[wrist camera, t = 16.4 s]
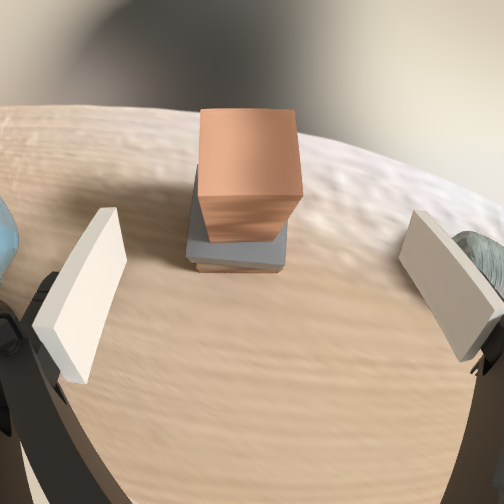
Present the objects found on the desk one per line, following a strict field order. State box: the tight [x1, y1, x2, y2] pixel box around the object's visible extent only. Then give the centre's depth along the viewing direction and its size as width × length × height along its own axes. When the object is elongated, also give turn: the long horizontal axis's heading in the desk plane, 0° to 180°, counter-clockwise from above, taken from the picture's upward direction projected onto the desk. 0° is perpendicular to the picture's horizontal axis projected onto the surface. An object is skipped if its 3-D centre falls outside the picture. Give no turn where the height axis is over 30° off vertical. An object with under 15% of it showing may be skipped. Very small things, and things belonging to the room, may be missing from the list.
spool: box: [452, 231, 504, 299], centre depth 31 cm, size 14×10×10 cm
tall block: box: [198, 109, 303, 243], centre depth 21 cm, size 5×5×11 cm
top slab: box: [185, 164, 288, 270], centre depth 28 cm, size 8×8×4 cm
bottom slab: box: [196, 263, 283, 273], centre depth 32 cm, size 8×8×4 cm
